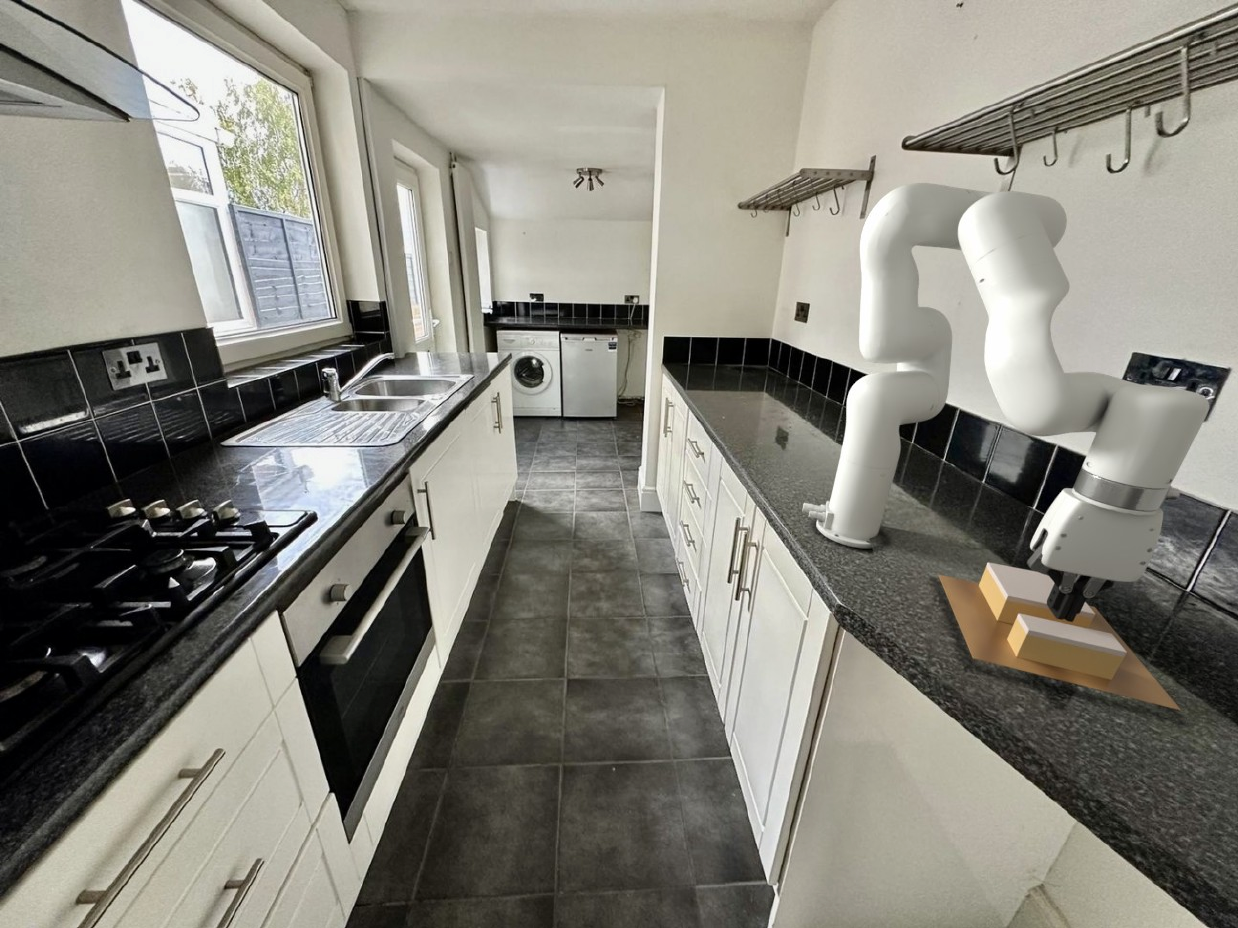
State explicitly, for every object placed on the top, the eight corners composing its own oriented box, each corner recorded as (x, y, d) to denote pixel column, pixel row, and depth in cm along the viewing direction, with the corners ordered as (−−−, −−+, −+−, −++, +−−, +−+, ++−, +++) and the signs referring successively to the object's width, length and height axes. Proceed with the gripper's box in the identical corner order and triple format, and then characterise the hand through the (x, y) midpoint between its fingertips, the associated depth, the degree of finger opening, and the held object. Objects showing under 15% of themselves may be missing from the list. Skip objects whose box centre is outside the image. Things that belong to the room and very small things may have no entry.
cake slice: (1016, 656, 63) (1028, 629, 61) (1006, 639, 66) (1018, 612, 64) (1111, 680, 60) (1127, 652, 58) (1097, 660, 63) (1111, 633, 61)
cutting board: (969, 666, 63) (973, 658, 63) (935, 581, 81) (938, 574, 80) (1175, 719, 57) (1182, 710, 56) (1090, 614, 74) (1094, 606, 74)
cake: (997, 620, 70) (1007, 595, 68) (978, 585, 78) (987, 561, 76) (1082, 640, 67) (1095, 614, 65) (1053, 601, 74) (1065, 577, 73)
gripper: (1177, 489, 59) (1114, 611, 65) (1029, 469, 63) (985, 585, 70) (1223, 516, 52) (1147, 648, 59) (1055, 491, 57) (1003, 617, 64)
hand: (1059, 613), depth 64 cm, fingers closed
